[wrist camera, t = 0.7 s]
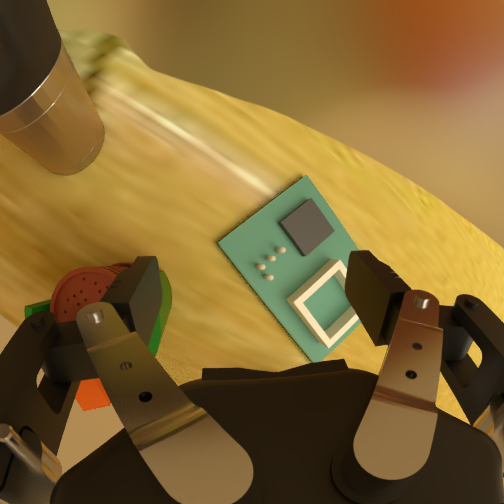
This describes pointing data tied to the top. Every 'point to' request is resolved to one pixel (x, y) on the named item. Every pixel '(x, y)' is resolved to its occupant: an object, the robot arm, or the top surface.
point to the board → (298, 266)
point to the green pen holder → (87, 292)
